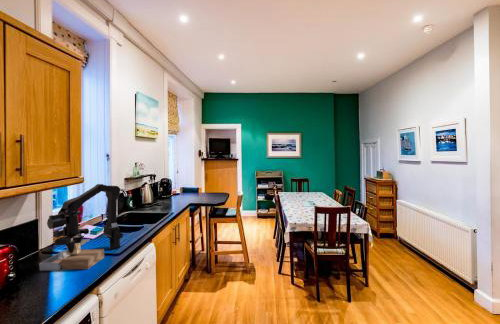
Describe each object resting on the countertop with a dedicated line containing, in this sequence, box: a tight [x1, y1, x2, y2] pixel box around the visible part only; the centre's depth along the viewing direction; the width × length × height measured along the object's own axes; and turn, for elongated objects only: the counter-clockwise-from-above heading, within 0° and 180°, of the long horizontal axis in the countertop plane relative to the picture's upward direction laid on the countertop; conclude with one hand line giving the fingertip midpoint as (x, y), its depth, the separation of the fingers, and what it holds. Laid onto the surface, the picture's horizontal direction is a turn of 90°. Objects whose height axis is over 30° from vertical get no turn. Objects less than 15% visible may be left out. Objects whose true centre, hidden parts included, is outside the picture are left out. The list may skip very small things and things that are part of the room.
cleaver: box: [65, 238, 91, 248], centre depth 161 cm, size 29×10×2 cm, turn 8°
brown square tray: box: [61, 248, 105, 270], centre depth 137 cm, size 14×14×5 cm
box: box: [38, 250, 65, 272], centre depth 138 cm, size 16×10×4 cm, turn 179°
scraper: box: [61, 243, 82, 258], centre depth 137 cm, size 12×5×5 cm, turn 179°
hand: (73, 251), depth 137 cm, fingers closed on scraper, 3 cm apart
